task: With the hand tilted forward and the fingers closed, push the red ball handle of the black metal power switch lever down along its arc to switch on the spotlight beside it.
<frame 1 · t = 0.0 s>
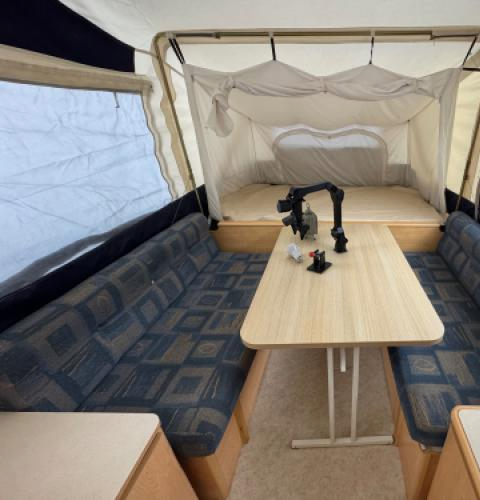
hand: (298, 237, 148), 15 cm above the table, tool pointing down, fingers open, 9 cm apart
switch bracket: (319, 267, 148), on the table
switch lever: (315, 254, 141), point 10 cm above the table, hinge at 22.0°
spotlight: (295, 258, 157), on the table
grey lantern: (308, 238, 187), on the table
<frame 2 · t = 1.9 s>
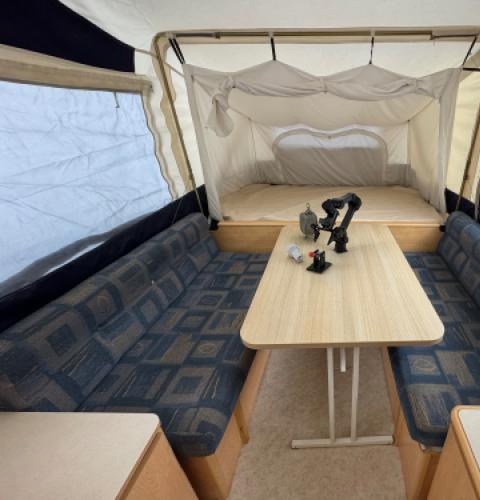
hand: (321, 243, 144), 13 cm above the table, tool tilted 45°, fingers open, 8 cm apart
nothing on the table moved.
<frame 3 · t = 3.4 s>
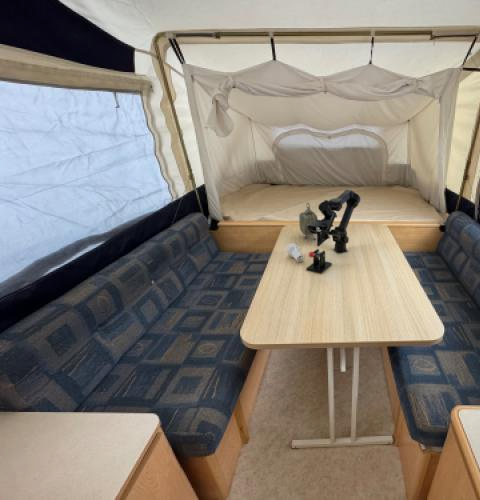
hand: (317, 245, 141), 13 cm above the table, tool tilted 45°, fingers closed
nothing on the table moved.
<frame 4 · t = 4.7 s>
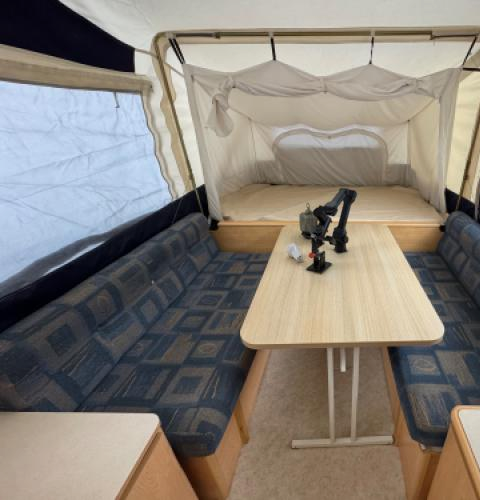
hand: (312, 252, 137), 12 cm above the table, tool tilted 45°, fingers closed, pressing on switch lever
switch lever: (315, 254, 141), point 9 cm above the table, hinge at 19.7°, touching gripper
everything else where it was.
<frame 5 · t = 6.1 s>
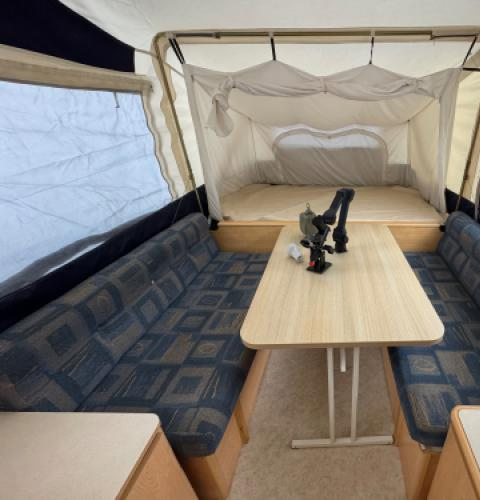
hand: (310, 261, 138), 8 cm above the table, tool tilted 45°, fingers closed, pressing on switch bracket
switch lever: (315, 259, 142), point 7 cm above the table, hinge at -16.0°
everything else where it was.
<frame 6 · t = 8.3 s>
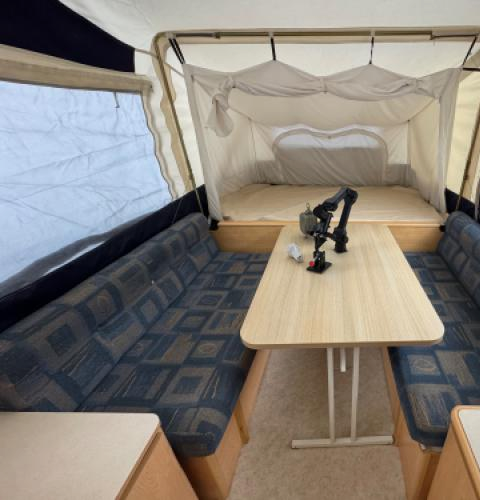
hand: (316, 250, 141), 11 cm above the table, tool tilted 35°, fingers closed
nothing on the table moved.
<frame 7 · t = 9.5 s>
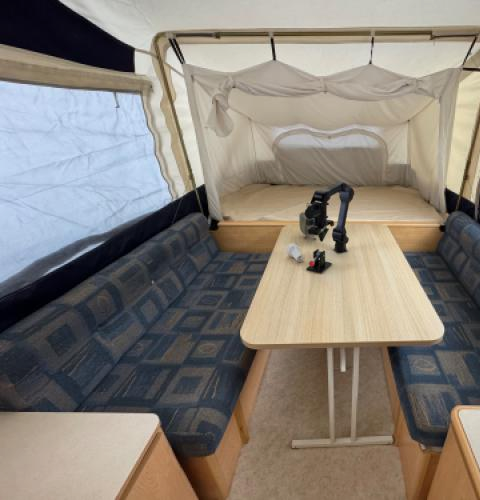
hand: (321, 241, 148), 13 cm above the table, tool pointing down, fingers closed
nothing on the table moved.
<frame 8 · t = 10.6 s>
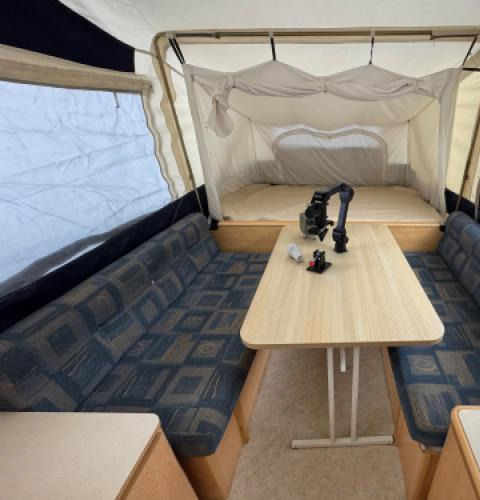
hand: (321, 241, 148), 13 cm above the table, tool pointing down, fingers closed
nothing on the table moved.
at the end: switch lever at -16° (first picture: +22°); spotlight moved 0.2 cm from its start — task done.
